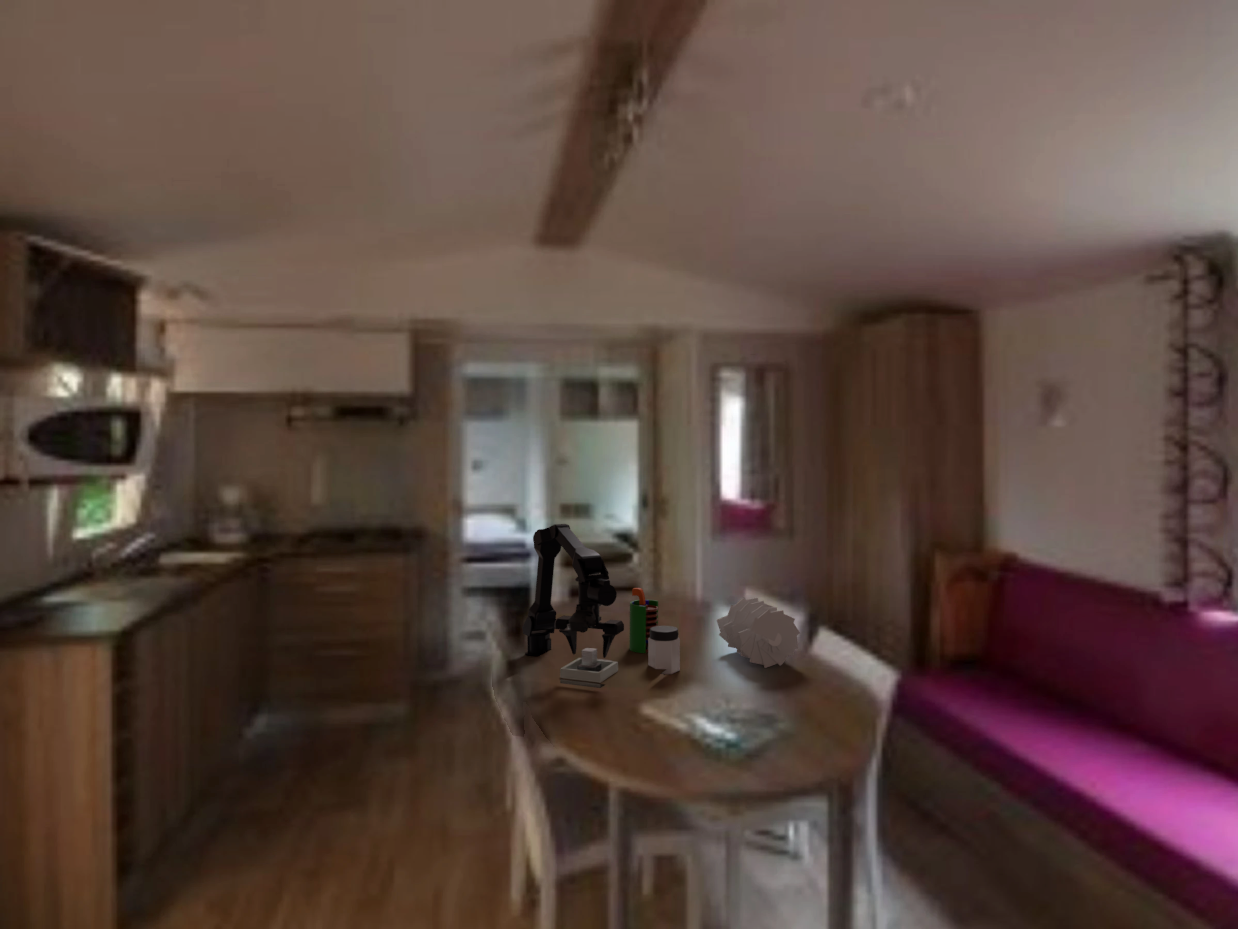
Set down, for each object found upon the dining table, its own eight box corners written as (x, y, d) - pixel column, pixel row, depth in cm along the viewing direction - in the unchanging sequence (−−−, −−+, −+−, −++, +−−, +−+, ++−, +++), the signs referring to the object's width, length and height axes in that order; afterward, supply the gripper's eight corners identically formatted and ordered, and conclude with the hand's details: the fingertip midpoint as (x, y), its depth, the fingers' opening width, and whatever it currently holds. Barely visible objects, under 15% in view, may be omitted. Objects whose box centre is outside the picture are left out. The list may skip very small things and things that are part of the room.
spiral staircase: (754, 661, 270) (790, 680, 246) (706, 640, 266) (737, 657, 242) (777, 607, 272) (814, 620, 248) (729, 585, 268) (762, 596, 244)
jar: (684, 672, 245) (684, 630, 244) (659, 676, 241) (658, 633, 241) (669, 664, 253) (668, 624, 252) (644, 668, 249) (644, 627, 249)
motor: (655, 658, 260) (655, 592, 259) (626, 657, 261) (626, 591, 260) (660, 650, 269) (660, 586, 269) (632, 648, 271) (632, 585, 270)
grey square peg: (577, 678, 237) (577, 651, 237) (585, 674, 242) (584, 646, 241) (594, 680, 235) (593, 652, 235) (601, 675, 240) (601, 648, 239)
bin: (560, 683, 235) (560, 668, 235) (579, 671, 246) (579, 657, 246) (600, 688, 231) (600, 673, 230) (618, 676, 242) (618, 661, 241)
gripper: (544, 602, 234) (545, 659, 234) (608, 608, 226) (608, 667, 227) (563, 595, 244) (563, 650, 245) (624, 600, 237) (624, 656, 237)
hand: (589, 655), depth 238 cm, fingers open, 9 cm apart
